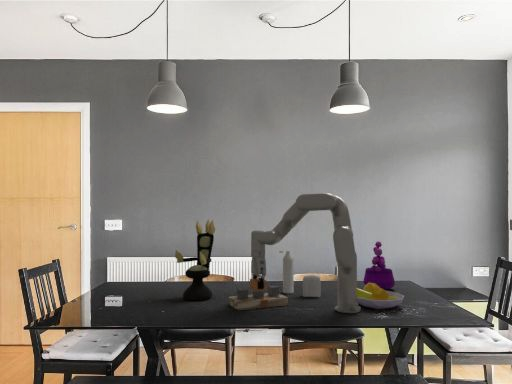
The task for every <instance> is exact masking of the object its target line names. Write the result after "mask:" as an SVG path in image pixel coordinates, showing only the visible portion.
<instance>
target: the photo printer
mask: <svg viewBox="0 0 512 384" xmlns="http://www.w3.org/2000/svg"><path fill="white" fill-rule="evenodd" d="M321 283H322V282H321V277H320V276H318V275H315V274H308V275H303V278H302V297H304V298H321V293H322V292H321V289H322V288H321V287H322V285H321Z"/></svg>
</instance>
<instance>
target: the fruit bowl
mask: <svg viewBox="0 0 512 384" xmlns="http://www.w3.org/2000/svg"><path fill="white" fill-rule="evenodd" d="M404 298H405V295H404V294H400V293H399V292H396V291H395V292H394V291H390V290H384V289H382V288H380V287H379V286H378V285H376V284H375V283H370V282H369V283H368V284H366V285H365V284H364V286H363V288H362V289H361V288H358V287H357V303H358V305H361V306H362V307H364V308H370V309H374V310H385V309H392V308H394V307H396V306H399V305H401V304H402V303H403V300H404Z"/></svg>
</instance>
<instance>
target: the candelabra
mask: <svg viewBox="0 0 512 384" xmlns="http://www.w3.org/2000/svg"><path fill="white" fill-rule="evenodd" d="M195 229H196V234H197V236H196V248H197V251H196V255H197V256H193V257H185V258H184V257H183V254H182V253H181V252H180V251H178V250H177V249H175V257H174V258H175V260H176V263H177V264H179V263H188V262H195V261H196V265H192V266H189V268H188V269H186V271H185V276H186V277H187V278H188V279H192V281H191V282H192V283H191V284H190V285H189V286H188V287H187V288H185V290H184V292H182V293H183V294H182V298H183V299H184V300H186V301H191V302H192V301H193V302H195V301H196V302H197V301H199V302H200V301H205V300H210V299H211V298H212V297H213V292H212V290H211V289H210V288H209V287H208V286H207V285H206V284H205V283H204V280H203V279H205V278H208V277H209V276H210V274H211V271H210V264H211V262H212V258H211V255H212V252H213V250H212V249H213V246H214V240H215V239H214V238H215V236H214V234H215V232H216V227H215V223H214V220H213V219H212V220H211V222H210V219H209V218H208V219H207V221H206V223H205V232H203V227H202V226H201V224H200V222H199V220H198V219H197V220H196V224H195Z"/></svg>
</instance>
